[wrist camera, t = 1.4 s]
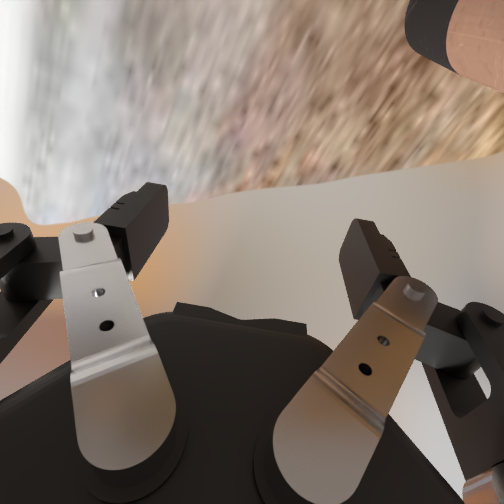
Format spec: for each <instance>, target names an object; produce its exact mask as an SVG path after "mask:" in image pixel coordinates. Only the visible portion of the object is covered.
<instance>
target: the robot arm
mask: <svg viewBox="0 0 504 504" xmlns="http://www.w3.org/2000/svg"><path fill="white" fill-rule="evenodd" d="M168 223H169V210H168V190H167V187H166V185H161V184H155V183H150V182H147V183H146V184H145V185H143V186H142V187H141V188H140V189H139V190H138V191H137V192H134V191H133V192H131V193H128V194H126V195H124V196H122V197H121V198H120V199H119V200H118V201H116V203H114V204H113V205H112V206H111V208H109V209H108V210H107V211H105V212H104V213H103V214H102V215H101V216H100V217H99V218H98V219H97V220H96V221H94V222H93V223H91V222H88V223H87V222H86V223H79V224H74V225H71V226H69V227H67V228H65V229H64V230H62V231H61V232H60V234H59V236H58V237H33V235H32V232H31V230H30V228H29V227H28V226H27V225H24V224H21V223H2V224H0V289H1V292H0V363H1V362H2V361H3V360H4V359H5V357H6V356H7V355H8V354H9V353H10V351H11V350H12V349H13V348H14V346H15V345H16V344H17V343H18V342H19V340H20V339H21V338H22V337H23V336H24V334H25V333H26V332H27V331H28V330H29V328H30V327H31V326H32V325H33V324H34V322H35V321H36V320H37V319H38V317H39V316H40V315H41V314H42V313H43V311H44V310H45V309H46V308H47V307H48V305H49V304H50V303H51V302H52V301H53V299H63V304H64V312H65V319H66V327H67V335H68V343H69V350H70V358H71V360H69V361H68V362H66V363H64V364H62V365H61V366H59V367H57V368H56V369H54V370H52V371H50V372H49V373H47V374H45V375H44V376H42V377H40V378H38V379H37V380H35V381H33V382H31V383H30V384H28V385H26V386H25V387H23V388H21V389H20V390H18V391H16V392H14V393H13V394H11V395H9V396H8V397H6V398H4V399H2V400H1V401H0V504H504V314H503V313H501V312H500V311H498V310H496V309H495V308H493V307H490V306H488V305H486V304H483V303H478V302H470V303H468V304H467V305H466V306H465V307H464V308H463V309H462V310H461V311H460V310H458V309H455V308H452V307H449V306H447V305H444V304H442V303H439V302H438V298H437V295H436V293H435V292H434V291H433V290H432V289H431V288H430V287H429V286H428V285H426V284H425V283H423V282H422V281H420V280H418V279H415V278H412V277H411V276H410V275H409V273H408V271H407V269H406V267H405V265H404V264H403V262H402V260H401V259H400V256H399V255H398V253H397V252H396V249H395V247H394V245H393V244H392V242H391V241H390V240H388V239H387V238H386V237H385V236H384V235H381V234H380V233H379V231H378V229H377V227H376V225H375V223H374V222H373V221H367V220H362V219H354V220H353V221H352V223H351V225H350V227H349V230H348V232H347V235H346V237H345V239H344V242H343V244H342V247H341V249H340V254H339V263H340V267H341V271H342V274H343V279H344V282H345V286H346V290H347V294H348V298H349V302H350V306H351V310H352V314H353V318H354V319H357V320H358V322H357V323H356V324H355V325H354V326H353V328H352V329H351V330H350V331H349V333H348V334H347V335H346V336H345V338H344V339H343V340H342V341H341V342H340V344H339V345H338V346H337V348H336V349H335V350H334V351H333V350H332V349H330V348H329V347H328V346H327V345H325V344H324V343H322V342H321V341H319V340H317V339H316V338H314V337H312V336H310V335H307V328H306V324H304V323H298V322H292V321H286V320H280V319H253V320H240V319H237V318H234V317H232V316H229V315H227V314H224V313H222V312H219V311H216V310H214V309H212V308H209V307H203V306H198V305H191V304H186V303H180V302H177V304H176V306H175V308H174V311H173V312H165V313H159V314H155V315H151V316H148V317H145V318H143V317H142V315H141V312H140V309H139V307H138V304H137V301H136V299H135V296H134V293H133V291H132V288H131V285H130V283H129V280H132V281H134V280H135V278H136V277H137V275H138V274H139V272H140V271H141V269H142V268H143V266H144V265H145V263H146V261H147V260H148V258H149V257H150V255H151V254H152V252H153V251H154V249H155V247H156V246H157V244H158V243H159V241H160V240H161V238H162V236H163V235H164V234H165V232H166V230H167V227H168ZM414 359H416V360H418V361H421V362H422V365H423V367H424V370H425V373H426V375H427V378H428V381H429V384H430V386H431V389H432V392H433V394H434V397H435V400H436V402H437V405H438V408H439V411H440V413H441V416H442V419H443V421H444V424H445V426H446V429H447V432H448V435H449V437H450V440H451V443H452V445H453V448H454V451H455V453H456V456H457V459H458V462H459V464H460V467H461V470H462V472H463V475H464V478H465V480H466V482H465V484H464V487H463V500H462V499H461V498H460V497H459V495H458V494H457V493H456V492H455V491H454V490H453V488H452V487H451V486H450V485H449V484H448V483H447V481H446V480H445V479H444V478H443V477H442V476H441V474H439V472H438V471H437V470H436V469H435V467H434V466H433V465H432V464H431V463H430V462H429V460H428V459H427V458H426V457H425V456H424V455H423V453H422V452H421V451H420V450H419V449H418V448H417V447H416V445H415V444H414V443H413V442H412V441H411V440H410V438H409V437H408V436H407V435H406V434H405V433H404V431H403V430H402V429H401V428H400V427H399V426H398V424H397V423H396V422H395V421H394V420H393V419H392V417H391V416H390V415H389V414H388V413H389V411H390V409H391V407H392V405H393V402H394V400H395V398H396V396H397V394H398V392H399V390H400V388H401V386H402V384H403V382H404V380H405V378H406V375H407V373H408V371H409V369H410V367H411V365H412V363H413V361H414ZM480 367H482V369H483V371H484V372H485V374H486V376H487V378H488V380H489V382H490V385H491V394H490V397H489V398H488V399H487V398H486V396H485V394H484V392H483V390H482V389H481V387H480V385H479V383H478V381H477V379H476V377H475V375H474V372H475V371H476V370H478V369H479V368H480Z"/></svg>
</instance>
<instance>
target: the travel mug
mask: <svg viewBox="0 0 504 504" xmlns="http://www.w3.org/2000/svg"><path fill="white" fill-rule="evenodd" d="M405 34H406V38H407V41H408V43H409V45H410V46H411V47H412V49H413V50H415V51H416V52H417V53H419V54H420V55H422V56H424V57H426V58H428V59H430V60H432V61H434V62H436V63H438V64H440V65H442V66H443V67H445V68H447V69H449V70H451V71H453V72H455V73H457V74H459V75H461V76H463V77H465V78H468V79H470V80H472V81H475V82H477V83H480V84H482V85H485V86H487V87H490V88H492V89H495V90H497V91H500V92H502V93H504V0H410V2H409V5H408V8H407V12H406V17H405Z"/></svg>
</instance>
